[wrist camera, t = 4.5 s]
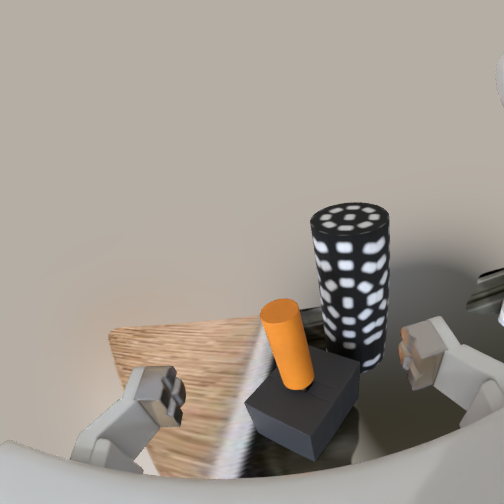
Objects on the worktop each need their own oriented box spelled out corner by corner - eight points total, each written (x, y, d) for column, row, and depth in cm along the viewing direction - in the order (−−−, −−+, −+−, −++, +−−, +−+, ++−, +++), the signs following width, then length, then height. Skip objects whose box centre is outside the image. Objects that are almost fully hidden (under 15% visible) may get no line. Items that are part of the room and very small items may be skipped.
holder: (304, 376, 37) (298, 341, 34) (358, 396, 32) (360, 361, 29) (257, 432, 31) (243, 402, 28) (314, 462, 26) (310, 436, 23)
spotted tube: (334, 328, 44) (320, 203, 35) (387, 332, 40) (390, 202, 31) (319, 369, 38) (300, 235, 29) (379, 377, 34) (387, 236, 25)
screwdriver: (305, 402, 34) (274, 295, 26) (327, 410, 32) (305, 302, 24) (291, 421, 32) (252, 318, 24) (313, 431, 30) (283, 328, 22)
